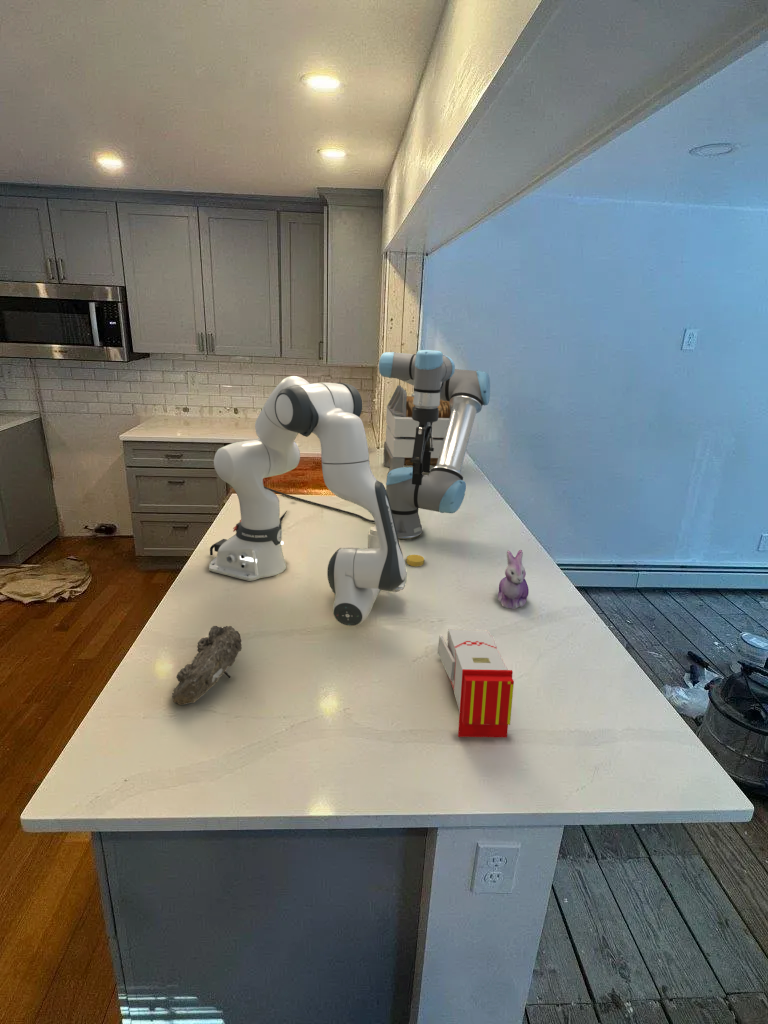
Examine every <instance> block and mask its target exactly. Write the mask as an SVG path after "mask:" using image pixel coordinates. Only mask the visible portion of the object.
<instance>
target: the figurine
mask: <svg viewBox="0 0 768 1024" xmlns="http://www.w3.org/2000/svg"><path fill="white" fill-rule="evenodd" d="M523 552H524V551H523V550H522V549H520V550H518V551H517V553H516V554H515V556H514V555H513V553H512V552H511V551H510V550H507V551H506V561H507V565H506V568H505V570H504V575H505V576H504V577H503V578H501V580H500V581H499V584H498V593H497V601H498V602H499V603H500V604H501V606H502V607H503V608H506V609H507V608H508V609H511V610H512V609H514V610H516V609H518V608H522V607H524V606H525V605H526V602H527V601H528V600H527V599H528V596H529V592H530V591H529V590H530V589H529V585H528V582H527V580H526V575H527V574H526V573H527V571H526V570H525V566H524V565H523V555H524V554H523Z"/></svg>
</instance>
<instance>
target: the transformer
mask: <svg viewBox="0 0 768 1024" xmlns="http://www.w3.org/2000/svg"><path fill="white" fill-rule="evenodd" d="M407 394H408V393H407V390H406V389H404V388H403V387H402V385H399V384H398V385H397V386H396V388H395V390H394V392H393V394H392V395H391V398H390V400H389V402H388V404H387V405H386V413H385V414H386V415H385V423H386V428H385V438H384V442H383V466H384V467H388V468H389V472H390V471H391V470H393V469H397V468H403V467H405V466H406V467H413V462H410V460H411V459H412V456H413V449H414V442H415V436H416V427H418V426H419V422H418V421H415V420H413V419H412V411H413V407H414V406H415V405H414V404H413V399H414V397H412V396H411V395H407ZM437 408H438V409H439V415H438V420H437V421H436V422H433V424H432V437H433V447H432V448H434V451H430V452H431V461H430V466H431V467H435V466H436V464H437V461H438V457H439V454H440V450H441V446H442V443H443V439H444V436H445V432H446V429H447V425H448V421H449V418H450V414H451V411H452V407H451V405H450V401H443V400H440V405H439V406H438V407H437ZM461 472H462V470H461V471H460V473H461ZM461 474H462V473H461Z"/></svg>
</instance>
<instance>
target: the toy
mask: <svg viewBox="0 0 768 1024" xmlns="http://www.w3.org/2000/svg"><path fill="white" fill-rule="evenodd" d="M446 640H447V643H446V641H445V639H444V636H443V635H442V634H439V637H438V646H437V656H438V657H439V659H440V661H441V663H442V666H443V668H444V670H445V672H446V674H447V677H448V679H449V681H450V684H451V687H452V690H453V693H454V697H455V701H456V705H457V708H458V711H459V714H458V715H459V716H458V730H457V731H458V732H457V737H458V738H508V731H509V726H510V725H511V717H512V707H513V697H514V696H513V695H514V684H515V680H514V679H513V673H514V671H513V670H512V669H508V667H507V665H506V662H505V661H504V659H503V658H502V655H501V653H500V651H499V649H498V647H497V643H496V639H495V637H494V635H493V634H491V632H490V631H489V629H467V628H466V629H465V628H463V629H461V628H460V629H459V628H448V630H447V639H446Z"/></svg>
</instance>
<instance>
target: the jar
mask: <svg viewBox="0 0 768 1024" xmlns="http://www.w3.org/2000/svg"><path fill="white" fill-rule="evenodd" d="M367 548H381V547H380V542H379V538H378V534H377V529H376V525H373V526H371V527H370V528H369V531H368V532H367Z"/></svg>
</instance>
